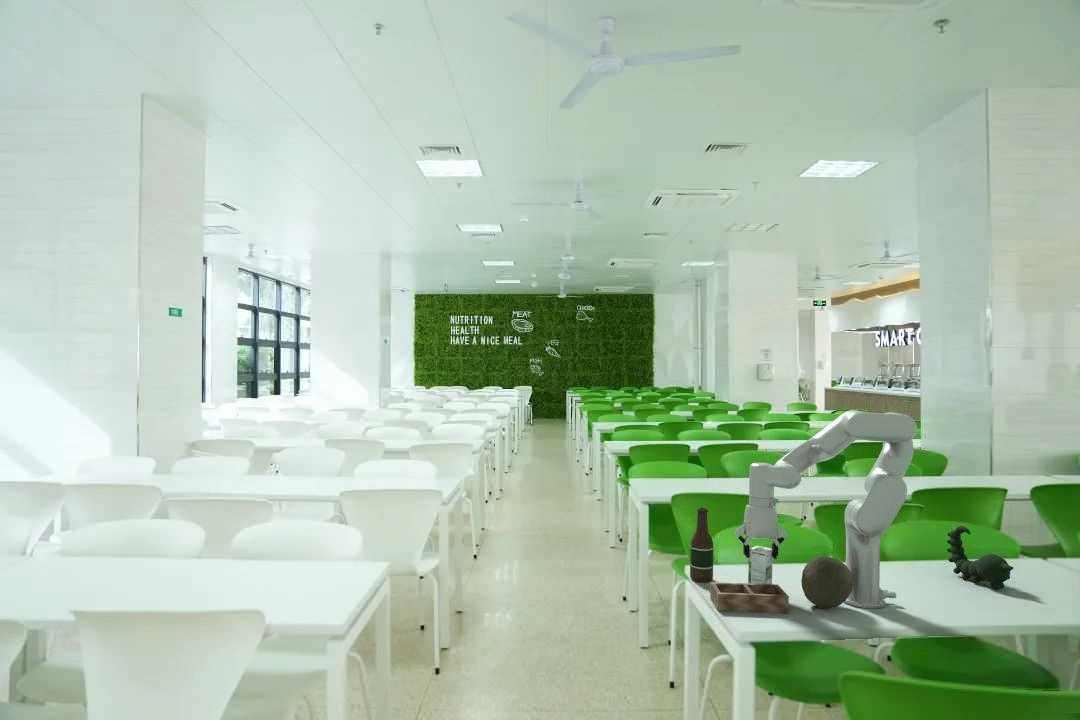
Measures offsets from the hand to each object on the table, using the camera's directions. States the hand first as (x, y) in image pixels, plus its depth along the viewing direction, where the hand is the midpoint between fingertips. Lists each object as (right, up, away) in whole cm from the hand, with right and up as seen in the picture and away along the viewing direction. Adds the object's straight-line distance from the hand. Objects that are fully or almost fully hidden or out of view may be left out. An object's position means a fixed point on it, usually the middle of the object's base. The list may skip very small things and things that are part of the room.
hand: (760, 557), depth 215 cm
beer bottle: (-15, -12, +15) cm, 24 cm away
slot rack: (-7, -12, -11) cm, 17 cm away
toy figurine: (+80, -14, +15) cm, 82 cm away
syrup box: (0, -12, 0) cm, 12 cm away
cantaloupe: (+16, -12, -11) cm, 23 cm away
